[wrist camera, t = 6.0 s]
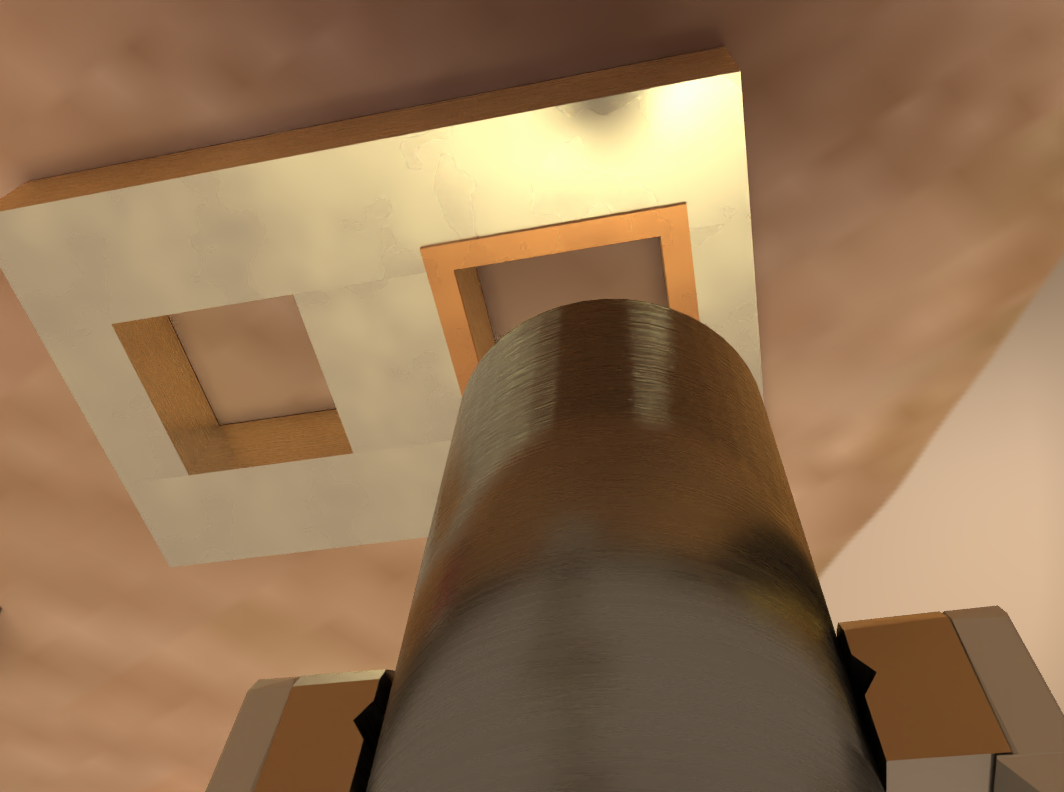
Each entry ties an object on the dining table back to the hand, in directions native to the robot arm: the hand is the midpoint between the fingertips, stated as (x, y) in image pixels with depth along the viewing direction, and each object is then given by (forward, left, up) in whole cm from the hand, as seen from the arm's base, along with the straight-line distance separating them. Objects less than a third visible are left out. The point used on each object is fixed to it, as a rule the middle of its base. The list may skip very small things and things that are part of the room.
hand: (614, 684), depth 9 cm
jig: (+5, -7, -20) cm, 22 cm away
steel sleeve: (0, 0, -5) cm, 5 cm away
